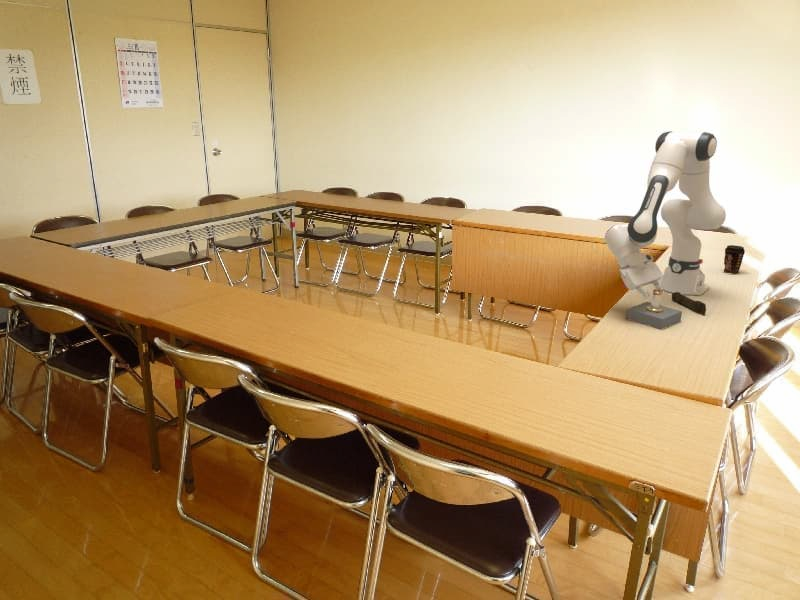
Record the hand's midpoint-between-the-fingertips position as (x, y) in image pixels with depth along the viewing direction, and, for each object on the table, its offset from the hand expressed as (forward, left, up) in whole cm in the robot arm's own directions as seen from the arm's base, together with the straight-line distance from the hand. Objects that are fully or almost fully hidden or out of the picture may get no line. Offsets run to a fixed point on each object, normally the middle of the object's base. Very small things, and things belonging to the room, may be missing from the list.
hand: (654, 294), depth 218 cm
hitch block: (0, +1, -10) cm, 10 cm away
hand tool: (-25, +3, -10) cm, 28 cm away
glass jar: (0, +1, -9) cm, 9 cm away
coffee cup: (-93, -11, -10) cm, 94 cm away
